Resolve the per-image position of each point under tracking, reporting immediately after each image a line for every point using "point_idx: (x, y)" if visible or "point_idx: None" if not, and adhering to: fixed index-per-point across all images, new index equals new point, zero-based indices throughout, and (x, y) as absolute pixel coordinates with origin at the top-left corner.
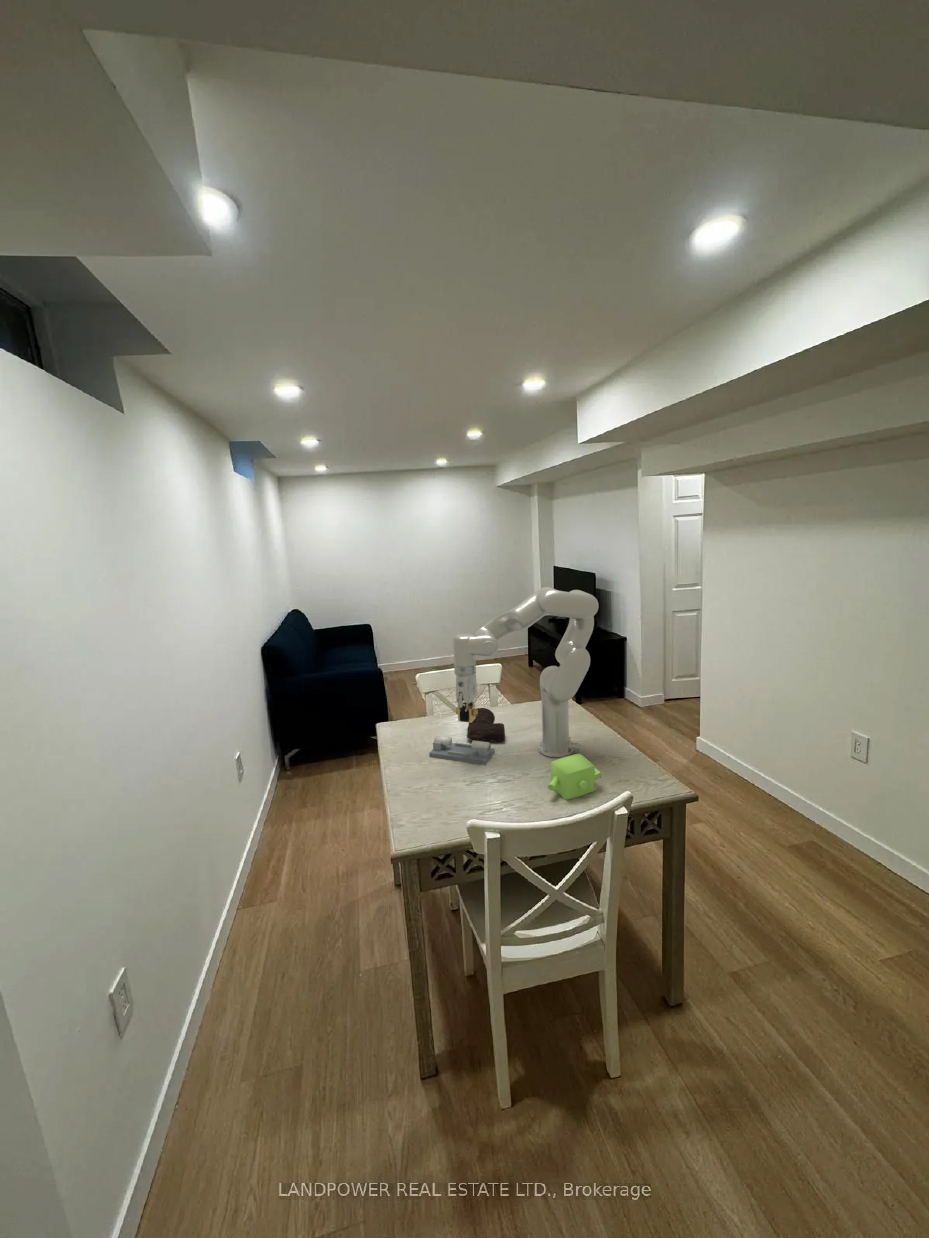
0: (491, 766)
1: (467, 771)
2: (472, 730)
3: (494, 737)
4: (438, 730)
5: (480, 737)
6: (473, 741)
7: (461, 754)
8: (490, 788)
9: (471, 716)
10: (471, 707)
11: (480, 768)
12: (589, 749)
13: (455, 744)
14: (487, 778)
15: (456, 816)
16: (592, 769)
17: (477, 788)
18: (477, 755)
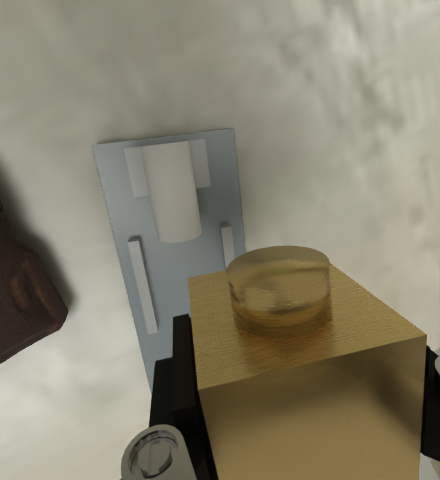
0: (231, 95)
1: (306, 176)
2: (25, 325)
3: None
4: (41, 461)
5: (36, 264)
6: (185, 234)
7: (233, 255)
8: (404, 12)
9: (344, 278)
10: (346, 371)
11: (266, 136)
12: None
13: (157, 328)
14: (333, 64)
15: None
16: None
17: (414, 69)
18: (198, 191)
